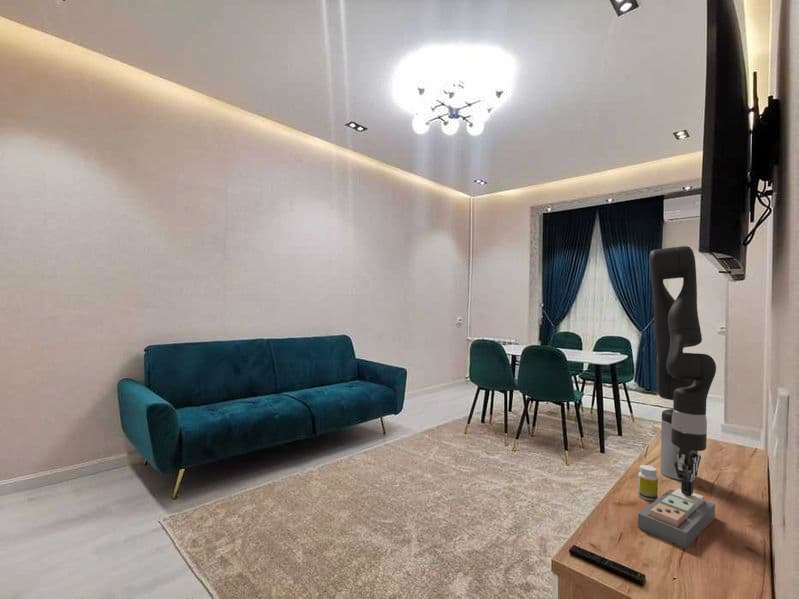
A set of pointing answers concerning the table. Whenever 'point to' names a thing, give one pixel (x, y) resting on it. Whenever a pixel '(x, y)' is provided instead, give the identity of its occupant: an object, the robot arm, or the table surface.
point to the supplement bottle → (647, 483)
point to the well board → (685, 531)
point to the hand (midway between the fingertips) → (687, 493)
